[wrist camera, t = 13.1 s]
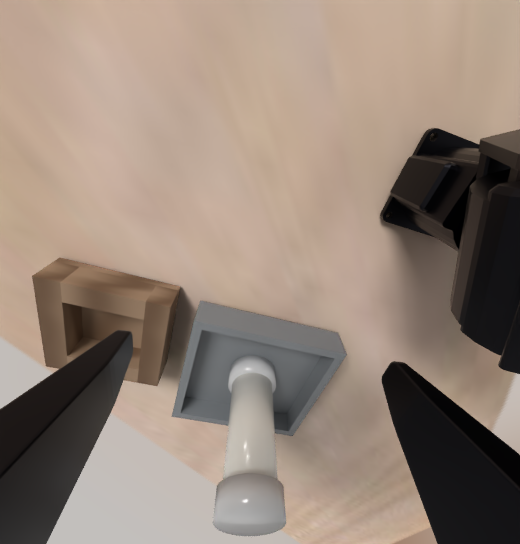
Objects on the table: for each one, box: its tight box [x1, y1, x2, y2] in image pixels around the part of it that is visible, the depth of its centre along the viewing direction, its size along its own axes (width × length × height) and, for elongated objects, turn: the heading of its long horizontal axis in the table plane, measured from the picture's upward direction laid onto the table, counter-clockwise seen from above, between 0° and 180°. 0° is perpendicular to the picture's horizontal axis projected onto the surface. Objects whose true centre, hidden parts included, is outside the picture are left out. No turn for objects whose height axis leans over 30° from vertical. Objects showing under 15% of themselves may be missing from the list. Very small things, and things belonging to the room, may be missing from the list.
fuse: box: [213, 355, 286, 536], centre depth 22 cm, size 5×5×12 cm
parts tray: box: [172, 301, 347, 436], centre depth 27 cm, size 14×14×3 cm
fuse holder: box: [32, 258, 180, 386], centre depth 23 cm, size 10×10×3 cm
